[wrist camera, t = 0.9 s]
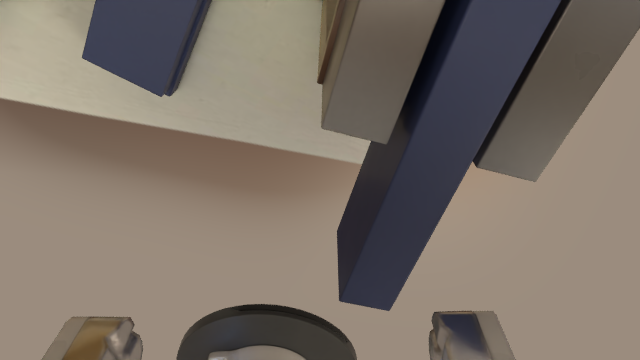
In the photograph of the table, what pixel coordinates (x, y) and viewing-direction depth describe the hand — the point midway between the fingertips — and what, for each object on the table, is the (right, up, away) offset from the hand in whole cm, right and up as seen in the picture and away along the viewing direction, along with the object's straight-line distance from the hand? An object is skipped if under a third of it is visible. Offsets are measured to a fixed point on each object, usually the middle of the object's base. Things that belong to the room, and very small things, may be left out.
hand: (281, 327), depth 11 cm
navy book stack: (-11, +20, +22) cm, 32 cm away
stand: (+7, +21, +21) cm, 30 cm away
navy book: (+5, +8, +7) cm, 12 cm away
